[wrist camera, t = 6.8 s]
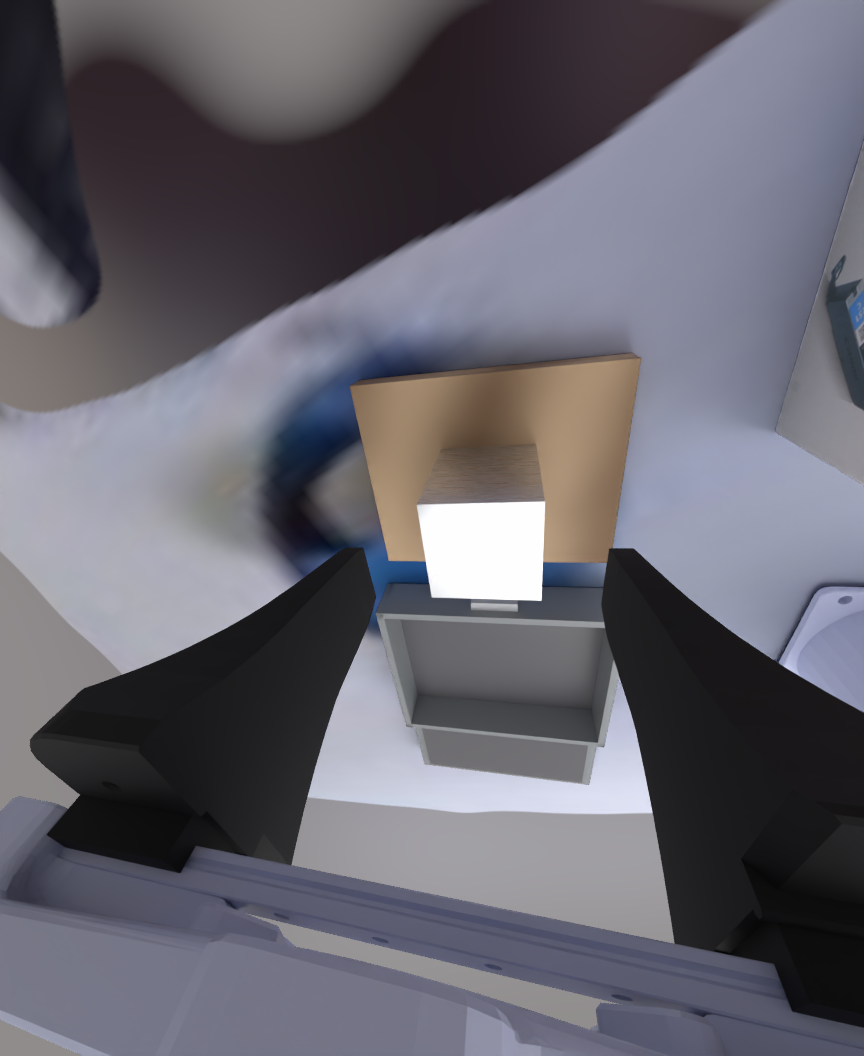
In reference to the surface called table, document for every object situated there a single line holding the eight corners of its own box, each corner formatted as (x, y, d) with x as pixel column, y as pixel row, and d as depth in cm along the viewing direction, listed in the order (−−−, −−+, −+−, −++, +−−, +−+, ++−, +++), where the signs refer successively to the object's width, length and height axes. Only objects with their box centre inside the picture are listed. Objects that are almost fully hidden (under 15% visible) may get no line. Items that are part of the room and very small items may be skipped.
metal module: (536, 443, 16) (545, 501, 11) (534, 529, 18) (541, 603, 14) (440, 449, 16) (416, 504, 12) (449, 529, 19) (432, 600, 14)
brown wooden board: (632, 352, 14) (641, 358, 13) (605, 548, 19) (610, 562, 18) (359, 379, 17) (349, 386, 16) (394, 548, 21) (389, 560, 20)
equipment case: (618, 581, 20) (631, 615, 18) (586, 768, 30) (592, 804, 28) (386, 576, 23) (373, 606, 21) (427, 749, 32) (421, 781, 30)
